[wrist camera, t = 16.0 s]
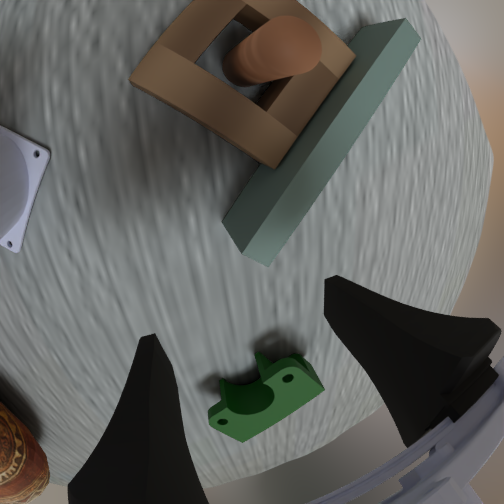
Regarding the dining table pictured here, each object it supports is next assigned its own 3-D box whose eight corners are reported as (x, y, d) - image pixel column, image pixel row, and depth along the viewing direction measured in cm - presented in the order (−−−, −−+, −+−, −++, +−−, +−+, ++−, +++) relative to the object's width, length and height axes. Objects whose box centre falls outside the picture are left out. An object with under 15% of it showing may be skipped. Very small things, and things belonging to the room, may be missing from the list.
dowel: (212, 66, 15) (245, 39, 9) (244, 38, 14) (291, 5, 9) (245, 95, 16) (293, 86, 11) (274, 68, 16) (333, 51, 10)
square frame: (132, 85, 14) (128, 79, 11) (225, -21, 12) (237, -39, 9) (257, 161, 19) (274, 169, 16) (332, 60, 17) (356, 55, 14)
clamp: (256, 324, 32) (303, 346, 24) (286, 351, 34) (335, 375, 26) (190, 401, 28) (218, 446, 20) (226, 422, 30) (261, 464, 22)
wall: (221, 222, 20) (241, 253, 16) (362, 27, 16) (405, 18, 12) (243, 234, 21) (268, 267, 17) (377, 43, 17) (421, 38, 12)
